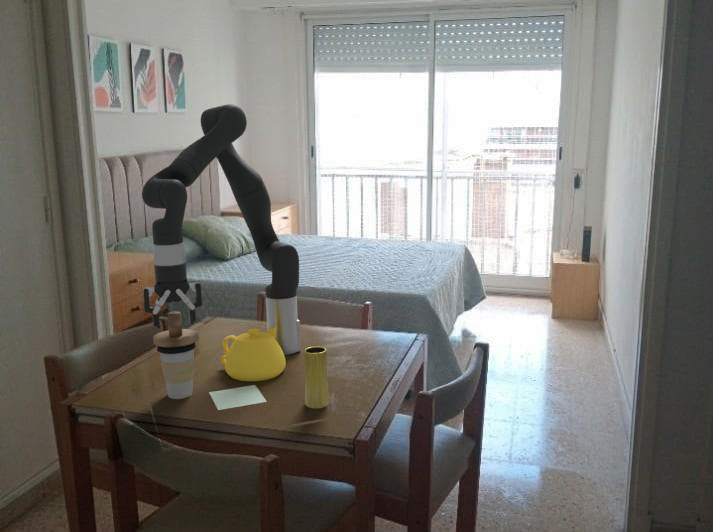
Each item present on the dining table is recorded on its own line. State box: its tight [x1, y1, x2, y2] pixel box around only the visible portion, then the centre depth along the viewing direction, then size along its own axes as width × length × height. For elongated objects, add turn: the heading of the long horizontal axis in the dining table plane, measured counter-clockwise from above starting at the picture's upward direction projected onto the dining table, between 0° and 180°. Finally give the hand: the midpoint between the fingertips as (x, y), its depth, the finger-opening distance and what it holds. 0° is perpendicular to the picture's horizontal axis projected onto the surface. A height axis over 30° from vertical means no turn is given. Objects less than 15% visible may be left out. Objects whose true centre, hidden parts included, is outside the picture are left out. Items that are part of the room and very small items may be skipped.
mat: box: [208, 384, 268, 411], centre depth 172 cm, size 12×12×1 cm
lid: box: [152, 311, 200, 347], centre depth 170 cm, size 11×11×7 cm
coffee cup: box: [156, 342, 197, 400], centre depth 173 cm, size 9×9×15 cm
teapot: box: [220, 327, 286, 382], centre depth 190 cm, size 20×19×13 cm
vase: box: [303, 345, 330, 409], centre depth 165 cm, size 6×6×14 cm
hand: (174, 325), depth 170 cm, fingers open, 7 cm apart
